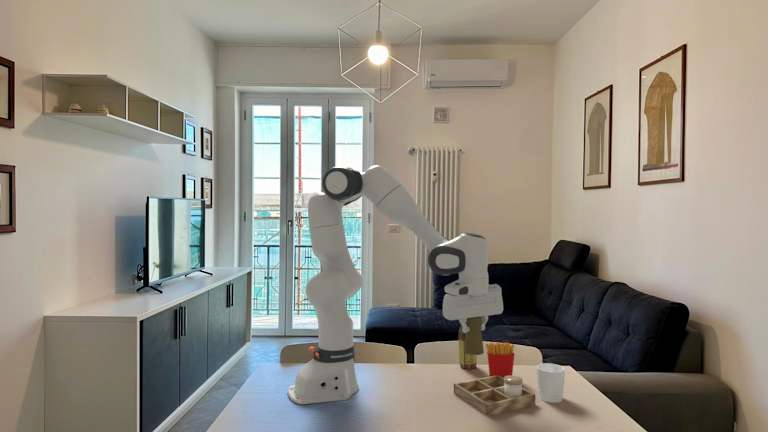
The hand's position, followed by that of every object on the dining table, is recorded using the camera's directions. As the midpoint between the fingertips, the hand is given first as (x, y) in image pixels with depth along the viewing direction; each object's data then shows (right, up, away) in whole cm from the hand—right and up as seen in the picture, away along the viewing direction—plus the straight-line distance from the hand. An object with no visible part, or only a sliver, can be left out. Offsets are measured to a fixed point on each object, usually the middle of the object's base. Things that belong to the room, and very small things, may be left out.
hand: (473, 331), depth 144 cm
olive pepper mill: (0, -7, 0) cm, 7 cm away
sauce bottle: (+3, -20, +28) cm, 35 cm away
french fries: (+12, -21, +14) cm, 28 cm away
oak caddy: (+6, -21, -1) cm, 22 cm away
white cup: (+23, -21, -1) cm, 31 cm away
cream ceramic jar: (+11, -20, -4) cm, 23 cm away
